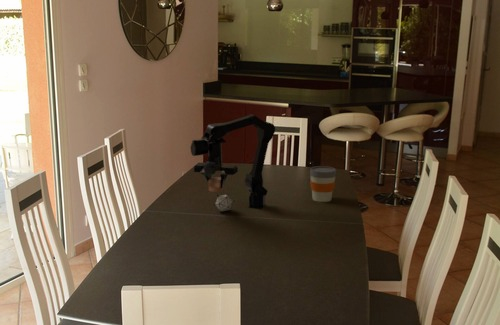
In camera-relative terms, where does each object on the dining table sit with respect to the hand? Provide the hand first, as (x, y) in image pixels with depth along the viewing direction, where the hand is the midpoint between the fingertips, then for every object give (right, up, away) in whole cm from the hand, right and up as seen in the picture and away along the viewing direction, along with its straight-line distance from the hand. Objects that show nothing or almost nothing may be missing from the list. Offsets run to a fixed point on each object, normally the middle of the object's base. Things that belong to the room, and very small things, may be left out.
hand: (216, 187), depth 244 cm
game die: (+3, -11, +4) cm, 12 cm away
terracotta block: (0, -1, 0) cm, 1 cm away
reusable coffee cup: (+50, -7, +23) cm, 55 cm away
